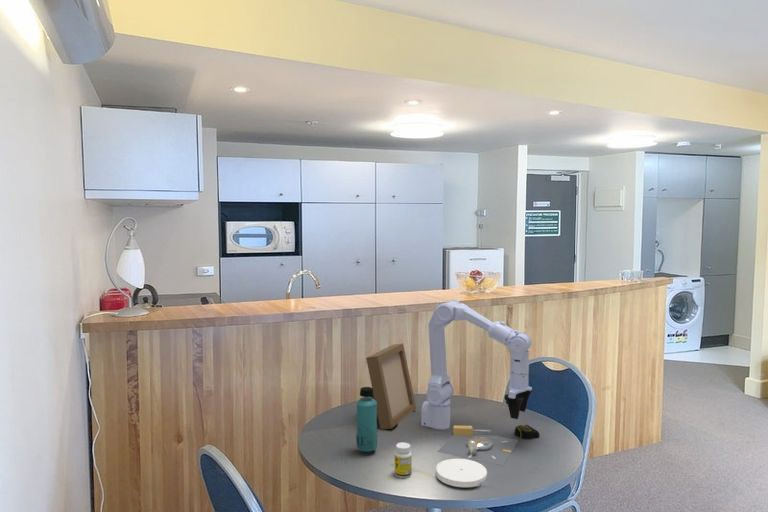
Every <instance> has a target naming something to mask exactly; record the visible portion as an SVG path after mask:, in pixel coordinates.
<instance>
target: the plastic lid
mask: <svg viewBox="0 0 768 512" xmlns="http://www.w3.org/2000/svg"><path fill="white" fill-rule="evenodd" d="M435 475H436V478H437V479H438V480H439V481H440V482H442V483H443V484H446V485H448V486H452V487H457V488H474V487H478V486H480V485H482V483H483V482H484V481H486V479H487V477H488V470H487V468H486V467H485V466H484V465H483V464H481V463H480V462H478V461H476V460H473V459H469V458H449V459H445V460H443V461H440V462H438V463H437V465H436V467H435Z"/></svg>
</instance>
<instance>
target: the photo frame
mask: <svg viewBox="0 0 768 512" xmlns="http://www.w3.org/2000/svg"><path fill="white" fill-rule="evenodd" d="M405 351H406V350H405V346H404V343H396V344H391V345H389V346H387V347H386V348H385V347H384V348H383V349H381V350H379V351H377V352H375V353H372V354H371V355H369V356H367V357H365V358H366V363H367V369H368V374H369V379H370V384H371V388H373V396H371V398H373V399H374V400H375V401H376V402H377V419H378V423H379V425H378V426H379V427H380V428H379V429H380V430H391V429H393V428H394V427H396V426H397V425H398V424H399V423H400V422H401V421H402V420H403V419H405V418H406V417H407V416H408V415H410V414H412V413H413V412H414V411H415V410H416V409H417V405H416V401H415V395H414V390H413V386H412V380H411V376H410V371H409V365H408V361H407V357H406V356H407V355H406V352H405Z"/></svg>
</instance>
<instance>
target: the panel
mask: <svg viewBox="0 0 768 512" xmlns="http://www.w3.org/2000/svg"><path fill="white" fill-rule="evenodd" d="M473 436H481V437H486V438H488V439H490V440H491V441H492V448H491V449H489V450H484V451H479V450H478V451H477V452H476V455H469V454H468V447H467V446H466V439H467V438H469V437H473ZM473 436H455V435H454V434H453V435H452V436H451V437H450V438H449V439H448V440H447V441H446V442H445V443H444V444H443V445H442V446H440V448H439V449H438V450H437V451H436V452H437V453H442V454H446V455H452V456H455V457H460V458H464V459H468V460H473V461H479V462H484V463H488V464H493V465H498V466H502V467H503V466H504V465H505V463H506V462H507V460H508V458H509V457H510V455H511V454H512V452H513V450H514V449H515V448H516V446H517V444H518V443H519V439H513V438H508V437H502V436H499V435H498V436H497V435H493V434H487V433H484V432H473Z"/></svg>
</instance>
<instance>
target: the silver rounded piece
mask: <svg viewBox="0 0 768 512" xmlns="http://www.w3.org/2000/svg"><path fill="white" fill-rule="evenodd" d="M466 446H467V447H468V454H469V455H476V452H477V451H478V450H479V451H484V450H489V449H491V448H492V441H491V440H490V439H488V438H486V437H481V436H473V437H469V438H467V439H466Z"/></svg>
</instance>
